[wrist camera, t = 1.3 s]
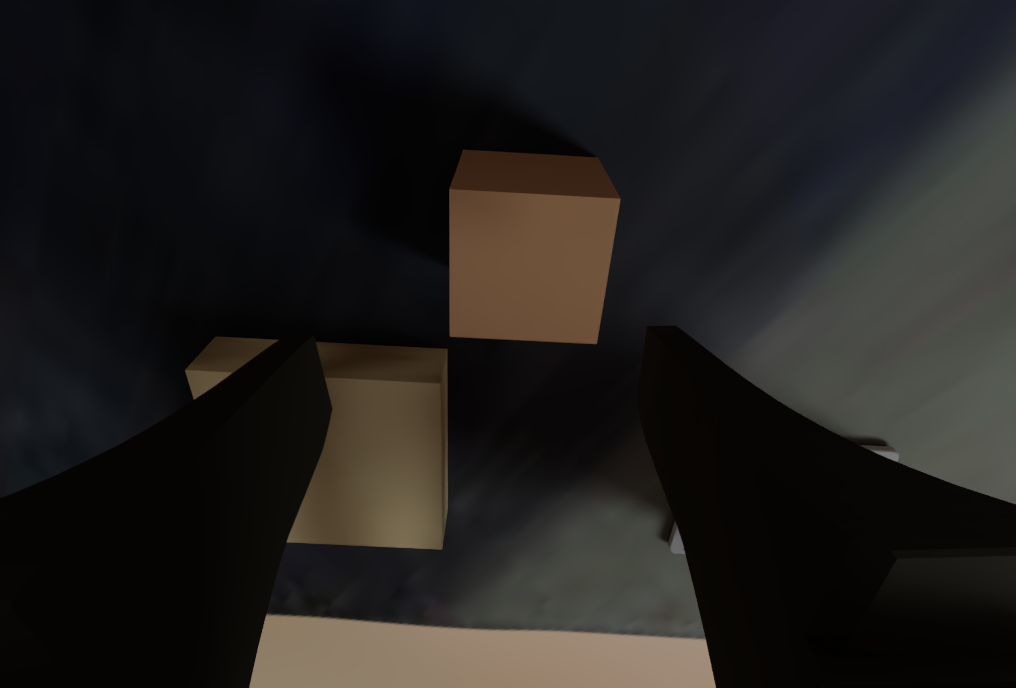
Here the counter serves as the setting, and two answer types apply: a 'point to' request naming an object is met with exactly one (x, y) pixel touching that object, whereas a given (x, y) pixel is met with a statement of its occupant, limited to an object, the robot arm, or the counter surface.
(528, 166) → the brown cube
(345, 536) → the oak block
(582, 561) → the counter surface
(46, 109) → the counter surface
